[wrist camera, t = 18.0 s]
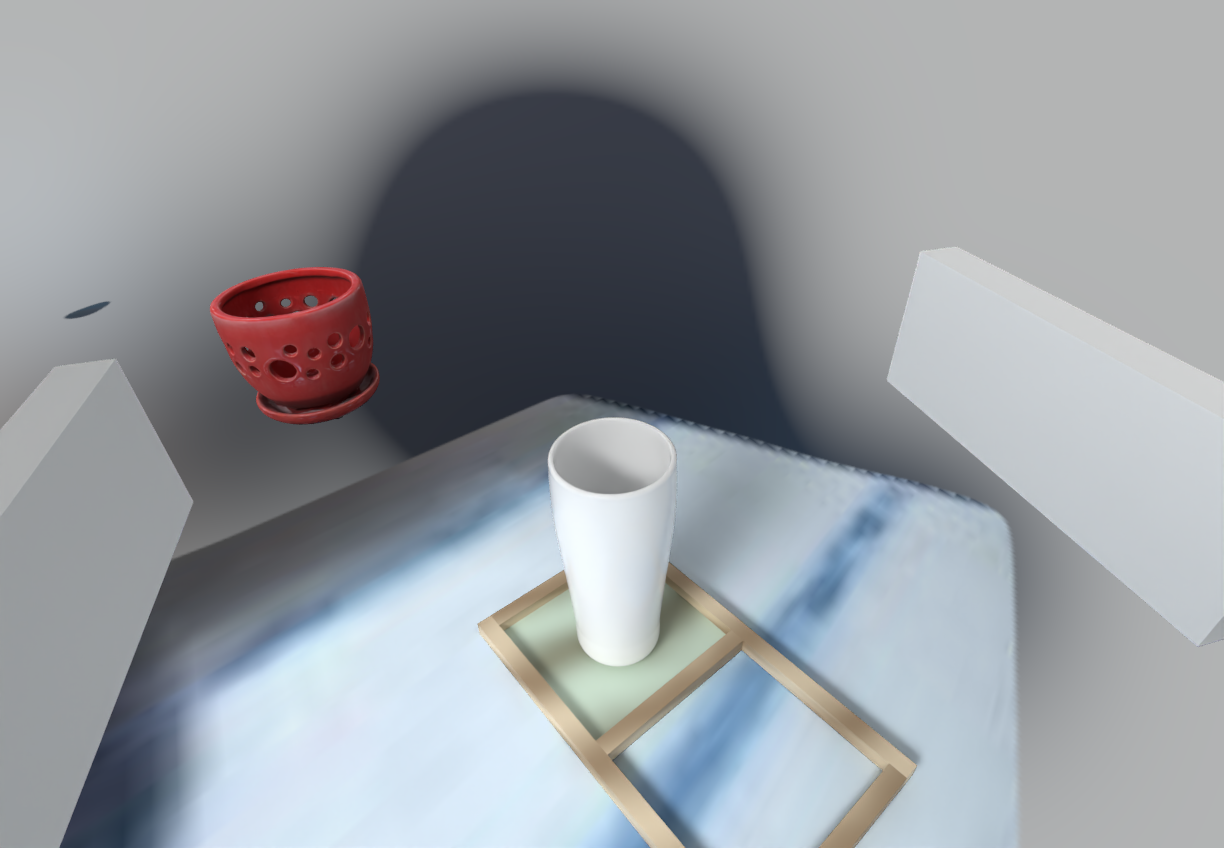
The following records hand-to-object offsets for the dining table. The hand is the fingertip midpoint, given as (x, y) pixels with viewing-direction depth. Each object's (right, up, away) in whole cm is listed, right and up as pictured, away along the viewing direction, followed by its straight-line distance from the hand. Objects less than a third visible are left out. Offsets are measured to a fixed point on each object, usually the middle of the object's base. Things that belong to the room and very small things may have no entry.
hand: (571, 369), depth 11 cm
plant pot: (-29, +2, +55) cm, 62 cm away
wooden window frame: (+4, -17, +27) cm, 33 cm away
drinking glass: (+1, -15, +31) cm, 34 cm away
